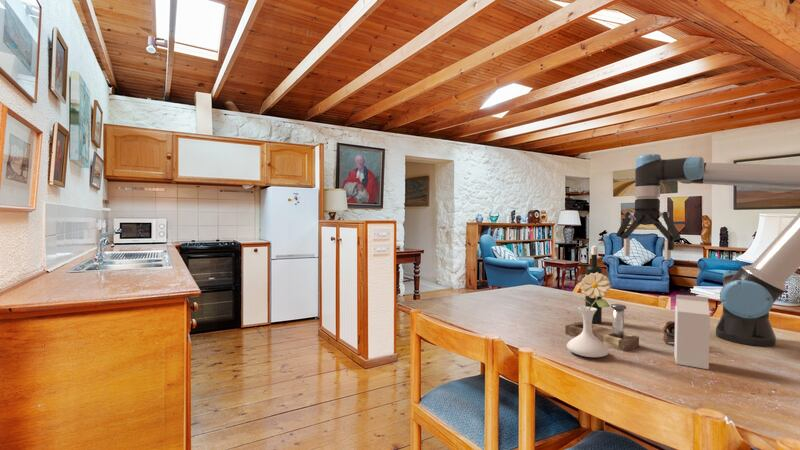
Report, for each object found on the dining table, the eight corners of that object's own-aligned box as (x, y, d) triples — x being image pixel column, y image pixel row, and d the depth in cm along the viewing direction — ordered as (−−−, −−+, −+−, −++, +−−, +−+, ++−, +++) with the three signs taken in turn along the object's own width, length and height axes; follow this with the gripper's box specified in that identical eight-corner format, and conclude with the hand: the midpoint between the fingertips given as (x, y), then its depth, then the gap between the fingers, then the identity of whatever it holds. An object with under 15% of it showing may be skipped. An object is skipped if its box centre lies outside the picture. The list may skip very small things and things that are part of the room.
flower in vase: (558, 350, 117) (559, 269, 117) (584, 345, 122) (586, 267, 121) (594, 365, 105) (596, 275, 105) (623, 359, 110) (624, 273, 109)
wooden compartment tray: (638, 346, 121) (639, 336, 121) (623, 351, 117) (623, 341, 117) (580, 330, 138) (580, 321, 138) (565, 334, 134) (565, 325, 134)
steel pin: (621, 347, 120) (621, 307, 119) (607, 344, 123) (608, 304, 123) (628, 345, 122) (628, 305, 122) (614, 341, 125) (615, 303, 125)
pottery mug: (708, 350, 119) (701, 329, 117) (678, 361, 121) (670, 341, 119) (682, 329, 131) (675, 310, 129) (655, 340, 132) (647, 321, 130)
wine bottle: (583, 319, 153) (584, 245, 152) (598, 320, 152) (599, 245, 151) (588, 323, 147) (589, 246, 146) (603, 324, 146) (605, 246, 146)
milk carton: (708, 370, 102) (710, 299, 102) (676, 364, 106) (677, 296, 106) (704, 361, 109) (706, 295, 108) (674, 356, 112) (675, 292, 112)
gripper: (693, 197, 128) (691, 260, 128) (617, 200, 149) (616, 254, 149) (682, 196, 124) (681, 261, 124) (606, 199, 145) (606, 255, 145)
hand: (646, 257), depth 137 cm, fingers open, 13 cm apart
